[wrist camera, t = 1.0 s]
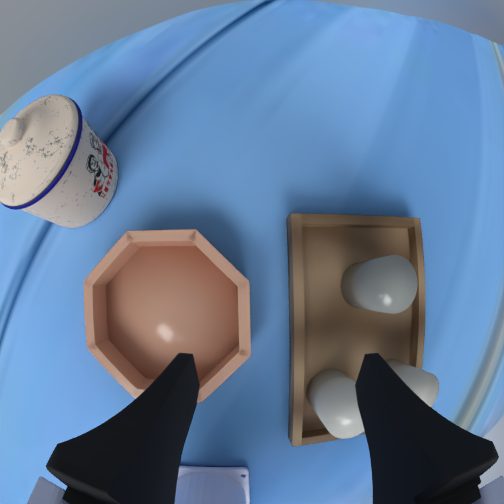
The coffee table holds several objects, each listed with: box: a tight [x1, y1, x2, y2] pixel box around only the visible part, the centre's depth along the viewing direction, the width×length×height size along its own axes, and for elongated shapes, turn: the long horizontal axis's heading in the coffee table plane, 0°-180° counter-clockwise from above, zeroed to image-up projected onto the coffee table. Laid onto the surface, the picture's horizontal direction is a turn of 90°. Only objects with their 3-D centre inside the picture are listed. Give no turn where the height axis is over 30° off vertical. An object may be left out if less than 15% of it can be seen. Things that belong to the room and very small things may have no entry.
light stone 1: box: [306, 369, 365, 439], centre depth 19 cm, size 4×4×6 cm
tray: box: [287, 213, 425, 447], centre depth 22 cm, size 20×13×2 cm, turn 1°
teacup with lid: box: [0, 95, 118, 228], centre depth 17 cm, size 12×9×12 cm
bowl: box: [84, 229, 251, 403], centre depth 20 cm, size 13×13×3 cm
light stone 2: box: [385, 359, 439, 407], centre depth 19 cm, size 4×4×6 cm
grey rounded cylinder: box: [341, 255, 418, 314], centre depth 20 cm, size 4×4×6 cm
